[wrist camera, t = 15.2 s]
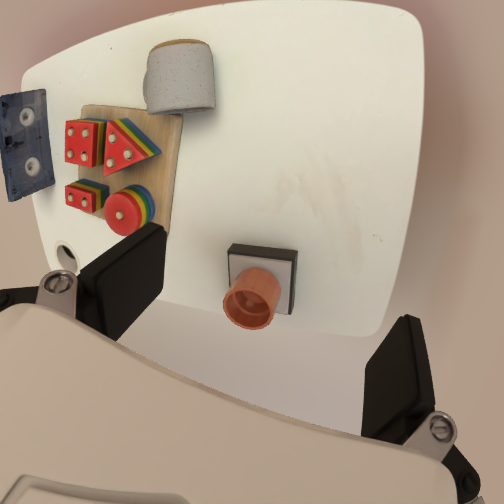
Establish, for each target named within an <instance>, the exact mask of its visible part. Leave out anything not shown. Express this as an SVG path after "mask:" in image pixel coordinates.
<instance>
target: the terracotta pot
mask: <svg viewBox="0 0 504 504" xmlns="http://www.w3.org/2000/svg"><path fill="white" fill-rule="evenodd" d="M280 297H281V287H280V284H279V282H278V280H277V279H276V278H275V277H274V276H273V275H272V274H271V273H269V272H267V271H265V270H263V269H259V268H250V269H246V270H243V271H242V272H241V273H240V274H238V276H237V277H236V279H235V280H234V282H233V284H232V285H231V287H230V288H229V290H228V292H227V293H226V295H225V297H224V300H223V309H224V311H225V313H226V315H227V317H228V318H229V319H230V320H231V321H232V322H234V324H236V325H238V326H240V327H242V328H245V329H250V330H256V329H262V328H264V327H266V326H267V325H269V324H270V322H271V321H272V319H273V317H274V314H275V311H276V308H277V305H278V303H279V300H280Z"/></svg>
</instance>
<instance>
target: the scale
mask: <svg viewBox="0 0 504 504" xmlns="http://www.w3.org/2000/svg"><path fill="white" fill-rule="evenodd" d="M227 252H228V270H229V288H230V287H231V285H232V284H233V282H234V280H235V279H236V277H237V276H238V274H240V273H241V272H242V271H243V270H246V269H250V268H259V269H263V270H265V271H267V272H269V273H271V274H272V275H273V276H274V277H275V278H276V279H277V280H278V282H279V284H280V287H281V297H280V300H279V303H278V305H277V308H276V311H275V313H279V314H286V315H287V314H289V315H291V313H292V309H293V306H294V295H295V282H296V269H297V254H298V251H295V250H286V249H278V248H269V247H260V246H252V245H243V244H234V243H233V244H232V245H231V247H230V248H229V249H228V250H227Z"/></svg>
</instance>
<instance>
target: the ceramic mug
mask: <svg viewBox="0 0 504 504" xmlns="http://www.w3.org/2000/svg"><path fill="white" fill-rule="evenodd" d="M143 96H144V100H145V102H146V103H147V114H148V115H165V114H176V113H186V112H196V111H204V110H210V109H214V108H215V106H216V102H215V88H214V76H213V60H212V53H211V50H210V47H209V45H208V44H206V43H205V42H203V41H200V40H194V39H179V40H172V41H167V42H164V43H161V44H159V45H157V46H155V47H154V48H153V49H152V50H151V51H150V53H149V56H148V61H147V72H146V74H145V77H144V81H143Z"/></svg>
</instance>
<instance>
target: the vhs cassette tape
mask: <svg viewBox="0 0 504 504" xmlns="http://www.w3.org/2000/svg"><path fill="white" fill-rule="evenodd" d="M0 153H1V160H2V168H3V173H4V176H5V184H6V190H7V195H8V200H9V201H10V202H13V201H17V200H19V199H21V198H22V197H25V196H27V195H30V194H33V192H37V191H39V190H41V189H44V188H46V187H48V186H51V185H53V184H55V178H54V173H53V165H52V158H51V150H50V141H49V132H48V120H47V106H46V90H45V89H38V90H32V91H25V92H19V93H14V94H7V95H2V96H1V97H0Z"/></svg>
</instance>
